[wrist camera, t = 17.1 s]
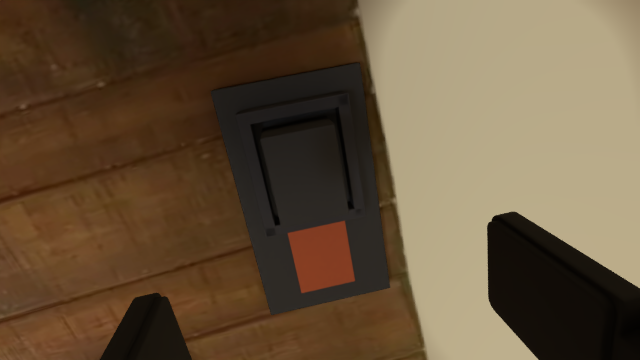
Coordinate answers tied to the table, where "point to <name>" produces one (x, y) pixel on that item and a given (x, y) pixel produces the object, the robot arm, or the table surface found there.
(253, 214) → the base pad
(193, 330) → the table surface
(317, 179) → the dark grey block
